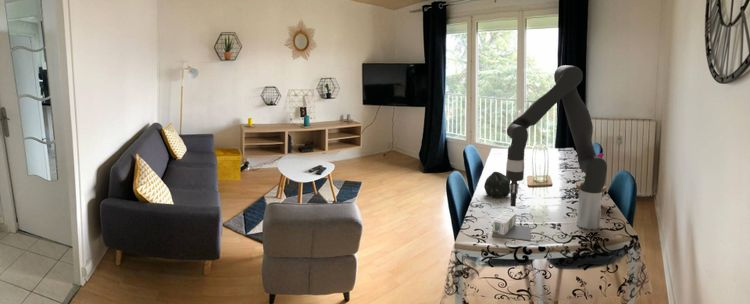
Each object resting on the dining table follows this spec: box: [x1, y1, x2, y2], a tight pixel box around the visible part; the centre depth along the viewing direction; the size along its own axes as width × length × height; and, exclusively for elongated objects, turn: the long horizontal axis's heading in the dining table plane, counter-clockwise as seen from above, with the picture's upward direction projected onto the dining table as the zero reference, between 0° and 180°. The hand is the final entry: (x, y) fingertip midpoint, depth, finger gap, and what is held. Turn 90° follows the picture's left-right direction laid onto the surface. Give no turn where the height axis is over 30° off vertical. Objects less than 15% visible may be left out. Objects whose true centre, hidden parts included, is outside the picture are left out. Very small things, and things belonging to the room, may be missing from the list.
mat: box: [491, 224, 531, 242], centre depth 210 cm, size 16×15×1 cm
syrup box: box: [492, 211, 517, 235], centre depth 212 cm, size 6×6×14 cm
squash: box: [483, 171, 512, 199], centre depth 257 cm, size 14×15×15 cm
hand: (513, 205), depth 211 cm, fingers closed
